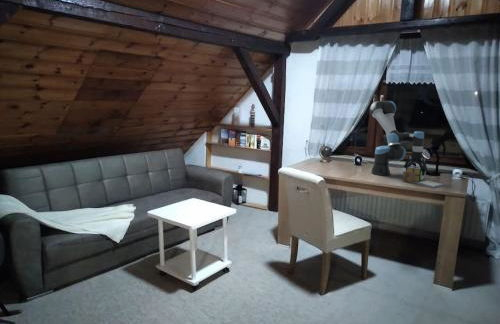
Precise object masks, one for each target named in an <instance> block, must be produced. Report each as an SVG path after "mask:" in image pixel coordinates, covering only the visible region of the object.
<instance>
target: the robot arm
mask: <svg viewBox="0 0 500 324" xmlns="http://www.w3.org/2000/svg"><path fill="white" fill-rule="evenodd" d="M396 111H397V105H396V104H395V102H393V101H392V100H377V101H376V100H375V101H374V102H372V103H371V105H370V106H369V112H370V115H371V117H373V118H375V120H376V121H377V122H378V124H379V125H380V126H381V128H382V129H383V130H384V131H385V136H386V140H387V141H386V142H387V145H380V146H376V147H375V150H374V163H373V166H372V168H371V174H373V175H376V176H389V175H391V169H390V166H389V163H390V162H399V161H403V160H404V159H405V157H406V155H407V153H406V152H407V151H406V148H405V147H403V146H402V144H401V143H412V148H411V150H412V151H411V155H409V156H407V159H406V161H405V163H404V165H403V167H404V168H405V172H406V171H407V168H408V167H410V166H413V164H414V163H415V164H418V167H420V168H421V170H422V171H421V176H420V181H423V180H424V176H425V173H426V172H428V167H427V163H426V158H422V157H423V151H424V142H425V141H424V140H425V132H423V131H417V130H415V131H414V132H410V131H409V132H405V131H404V132H399V131H398V130H397V129H396V124H395V119H394V116H395V113H396Z"/></svg>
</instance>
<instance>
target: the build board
mask: <svg viewBox="0 0 500 324" xmlns="http://www.w3.org/2000/svg"><path fill="white" fill-rule="evenodd" d="M415 182H416V184H417V185H420V186H424V187H427V186H428V188H431V187H432V189H436V188H439V187H444V186H445V185H446V184H445V183H440V182H436V181H431V180H429V179H428V180H420V181H419V182H418V181H415Z"/></svg>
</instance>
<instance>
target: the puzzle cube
mask: <svg viewBox="0 0 500 324" xmlns="http://www.w3.org/2000/svg"><path fill="white" fill-rule="evenodd" d="M407 171H410V172H415V179H414V182H421V180H420V176H421V171H422V170H421V168H420V166H417V165H416V166H415V165H411V166H410V167H408V168H407Z"/></svg>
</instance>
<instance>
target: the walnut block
mask: <svg viewBox="0 0 500 324" xmlns="http://www.w3.org/2000/svg"><path fill="white" fill-rule="evenodd" d="M414 179H415V172H410V171H406V170H405V171H403V173H402V183H406V184H409V185H410V184H413V183H415V181H414Z"/></svg>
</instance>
